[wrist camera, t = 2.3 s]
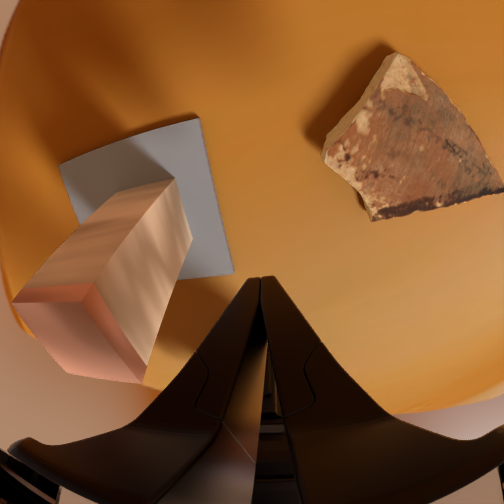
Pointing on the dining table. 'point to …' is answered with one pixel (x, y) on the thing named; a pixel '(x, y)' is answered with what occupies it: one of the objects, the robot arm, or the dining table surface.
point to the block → (110, 284)
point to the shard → (408, 146)
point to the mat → (154, 170)
